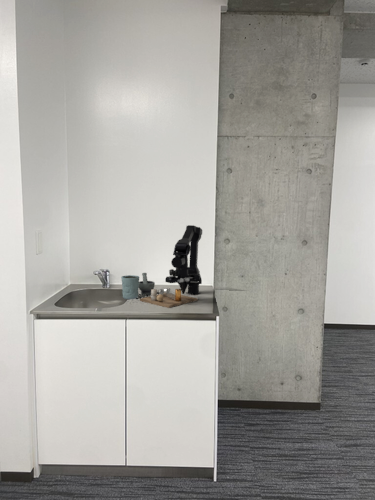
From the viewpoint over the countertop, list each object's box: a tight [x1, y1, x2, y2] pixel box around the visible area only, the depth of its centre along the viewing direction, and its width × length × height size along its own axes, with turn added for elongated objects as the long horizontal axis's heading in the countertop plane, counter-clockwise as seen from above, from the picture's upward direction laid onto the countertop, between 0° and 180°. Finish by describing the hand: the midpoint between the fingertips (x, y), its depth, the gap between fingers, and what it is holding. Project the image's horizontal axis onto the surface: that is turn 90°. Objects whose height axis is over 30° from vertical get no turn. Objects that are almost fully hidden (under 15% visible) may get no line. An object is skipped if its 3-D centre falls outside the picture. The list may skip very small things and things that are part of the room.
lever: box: [160, 287, 182, 301], centre depth 232 cm, size 20×4×6 cm, turn 31°
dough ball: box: [157, 294, 163, 301], centre depth 224 cm, size 4×4×4 cm
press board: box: [139, 288, 198, 309], centre depth 230 cm, size 23×22×7 cm
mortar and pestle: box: [138, 272, 156, 296], centre depth 247 cm, size 11×9×12 cm
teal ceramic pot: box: [121, 274, 140, 300], centre depth 237 cm, size 10×10×12 cm
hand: (183, 293), depth 227 cm, fingers closed
